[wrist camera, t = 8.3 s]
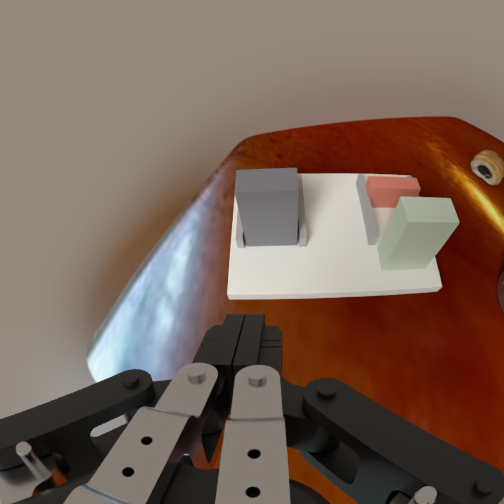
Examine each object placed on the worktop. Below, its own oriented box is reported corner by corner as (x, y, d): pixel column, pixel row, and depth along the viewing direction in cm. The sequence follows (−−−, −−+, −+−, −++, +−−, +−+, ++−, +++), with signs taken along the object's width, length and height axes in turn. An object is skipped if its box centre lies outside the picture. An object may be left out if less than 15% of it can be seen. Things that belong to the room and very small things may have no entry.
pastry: (482, 150, 45) (489, 137, 42) (507, 172, 42) (515, 159, 39) (466, 168, 43) (474, 153, 40) (493, 192, 40) (502, 178, 37)
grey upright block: (295, 224, 38) (296, 167, 29) (296, 245, 37) (298, 190, 28) (247, 225, 39) (236, 170, 30) (247, 246, 37) (234, 192, 29)
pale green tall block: (419, 247, 35) (450, 198, 26) (424, 268, 33) (459, 222, 25) (377, 248, 35) (400, 196, 27) (381, 270, 34) (408, 222, 25)
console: (406, 182, 42) (416, 156, 37) (437, 291, 33) (456, 272, 28) (238, 183, 45) (232, 156, 40) (229, 299, 36) (220, 280, 31)
